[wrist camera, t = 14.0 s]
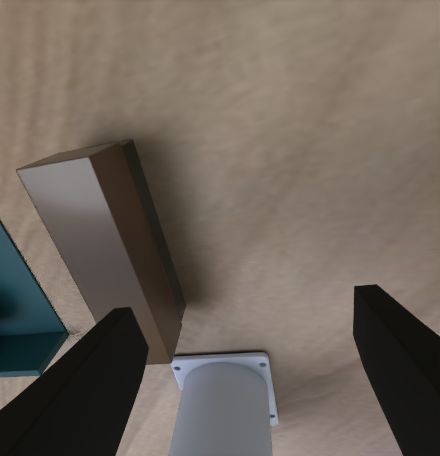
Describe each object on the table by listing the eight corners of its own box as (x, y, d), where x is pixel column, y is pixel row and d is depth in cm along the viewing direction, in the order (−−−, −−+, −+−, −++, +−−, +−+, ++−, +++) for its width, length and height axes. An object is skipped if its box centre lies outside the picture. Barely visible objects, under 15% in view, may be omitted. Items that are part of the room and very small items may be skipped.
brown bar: (187, 307, 21) (172, 363, 16) (143, 311, 21) (119, 366, 17) (131, 135, 15) (88, 156, 11) (75, 146, 16) (14, 169, 12)
